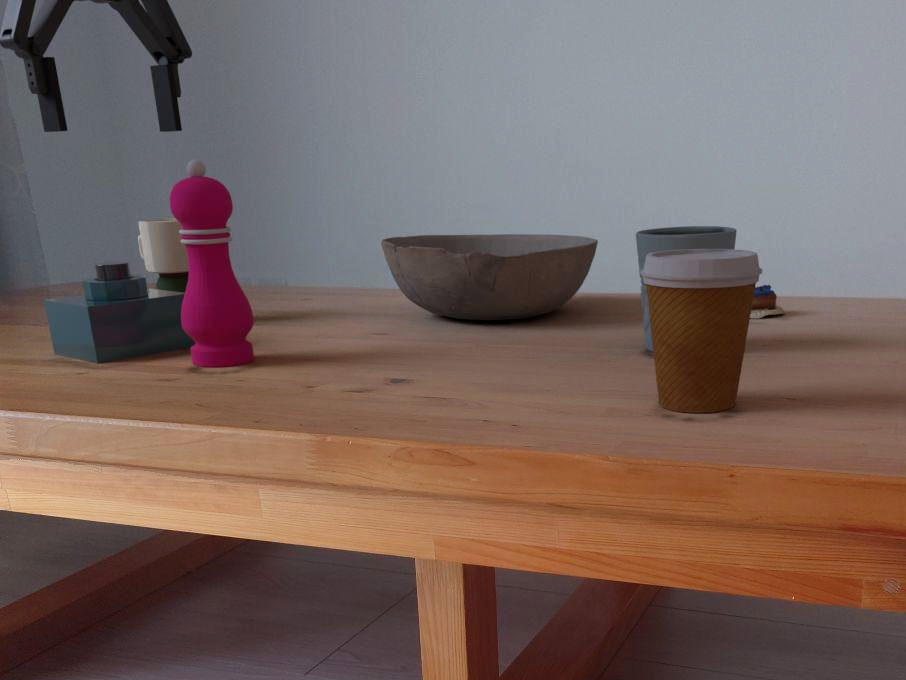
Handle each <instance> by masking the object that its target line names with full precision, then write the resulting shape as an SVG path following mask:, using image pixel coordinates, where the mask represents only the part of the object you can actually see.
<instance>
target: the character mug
mask: <svg viewBox="0 0 906 680" xmlns="http://www.w3.org/2000/svg"><path fill="white" fill-rule="evenodd" d="M138 229H139V235H138V236H137V243H138V249H139V255H140V258H141V259H142V260H143V261H144V266H145V269H146V271H147V272H150V273H152V274H158V277H157V280H156V283H155V289H158V290H166V291H175V292H183V293H185V291H186V287H187V283H188V276H189V263H188V255H187V251H186V246H185V244H182V243H181V242H180V241H181V239H182V238H181V234H180V233H179V230H181V229H183V227H182V225H181V224H180V223H179V222H178V221H177V220H176V218H175V217H173V218H154V219H143V220H138Z"/></svg>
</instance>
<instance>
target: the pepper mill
mask: <svg viewBox="0 0 906 680" xmlns="http://www.w3.org/2000/svg"><path fill="white" fill-rule="evenodd" d="M186 171H187V174H188V175H189V177H186V178H183V179H181V180H179V181H177V183H176V184H174V185H173V187H172V189H171V191H170V194H169V209H170V212H171V214H172V216H173V218H176V220H177V221H178V222H179V223H180V224H181V225H182V227H183V229H181V230H179V233H180V234H181V238H182V239H181V241H180V242H181V243H182V244H185V246H186V251H187V255H188V263H189V276H188V283H187V287H186V291H185V295H184V299H183V302H182V309H181V323H182V328H183V330H184V331H185V332H186V333H187V334H188V335H189V336H190V337H191V338H192V339H193V340H194V341H195V343H196V344H195V345H194V346H192V347H191V348H189V349H190V355H191V356H190V357H191V362H192V365H193V366H195V367H198V368H199V367H200V368H227V367H228V368H229V367H235V366H241V365H246V364H248V363H251V362H253V361H254V360H255V356H254V348H253V343H252V342H251V341H249V340H247V337H248V335H249V334H250V332H251V331H252V329H253V327H254V324H255V318H254V314H253V309H252V306H251V303H250V302H249V299H248V297H247V296H246V294H245V292H244V290H243V289H242V286H241V284H240V283H239V281H238V279H237V278H236V275H235V272H234V270H233V267H232V263H231V257H230V246H229V245H230V242H232V241H233V237H231V233H230V232H231V231H232V228H231V227H229V226H227V224H228V221H229V219H230V218H231V216H232V214H233V210H234V207H233V206H234V205H233V199H232V196H231V193H230V191H229V190H228V188H227V187H226V186H225V185H224V184H223V182H220V181H219V180H218V179H215V178H213V177H209V176H205V175H206V174H207V173H206V172H207V168H206V165H205V164H204V162H203V161H201V160H199V159H192V160H190V161H189V162H188V163H187V164H186Z"/></svg>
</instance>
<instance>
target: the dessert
mask: <svg viewBox="0 0 906 680" xmlns="http://www.w3.org/2000/svg"><path fill="white" fill-rule="evenodd" d="M777 297H778V295H777V294H776V293H775V291H774V290H773V289H772V286H771V285H770V284H763V285H760V286H755V291H754V297H753V304H752V309H751V315H750V319H755V320H757V319H761V318H764V317H765V316H769V315H770V316H771V315H772V316H773V315H780V314H781V315H782V314H785V310H784V308H783V307H782V306H780V305H778V304H777V299H778V298H777Z"/></svg>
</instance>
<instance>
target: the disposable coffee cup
mask: <svg viewBox="0 0 906 680" xmlns="http://www.w3.org/2000/svg"><path fill="white" fill-rule="evenodd" d="M763 272H764V271H763V268H761V267H760V262H759V256H758V253H757V252H755V251H751V250H746V249H734V250H733V249H684V250H669V251H659V252H653V253H649V254H647V256H646V260H645V265H644V269H643V270H641V271H640V273H641V275H642V276H643V279H644V283H645V284H646V288H647V297H648V307H649V316H650V326H651V335H652V344H653V351H652V352H653V362H654V368H655V369H654V371H655V377H656V378H655V379H656V389H657V398H658V405H659V406H660V407H661V408H664V409H667V410H670V411H674V412H681V413H690V414H691V413H692V414H695V413H699V414H700V413H715V412H721V411H727V410H729V409H731V408H733V407H735V406H736V404H737V397H738V391H739V384H740V379H741V373H742V367H743V361H744V356H745V351H746V343H747V338H748V334H749V333H748V332H749V327H750V326H749V325H750V320H751V318H750V315H751V309H752V304H753V297H754V291H755V287H756V284H757V283H758V282H759V281H760V275H762V274H763Z"/></svg>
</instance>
